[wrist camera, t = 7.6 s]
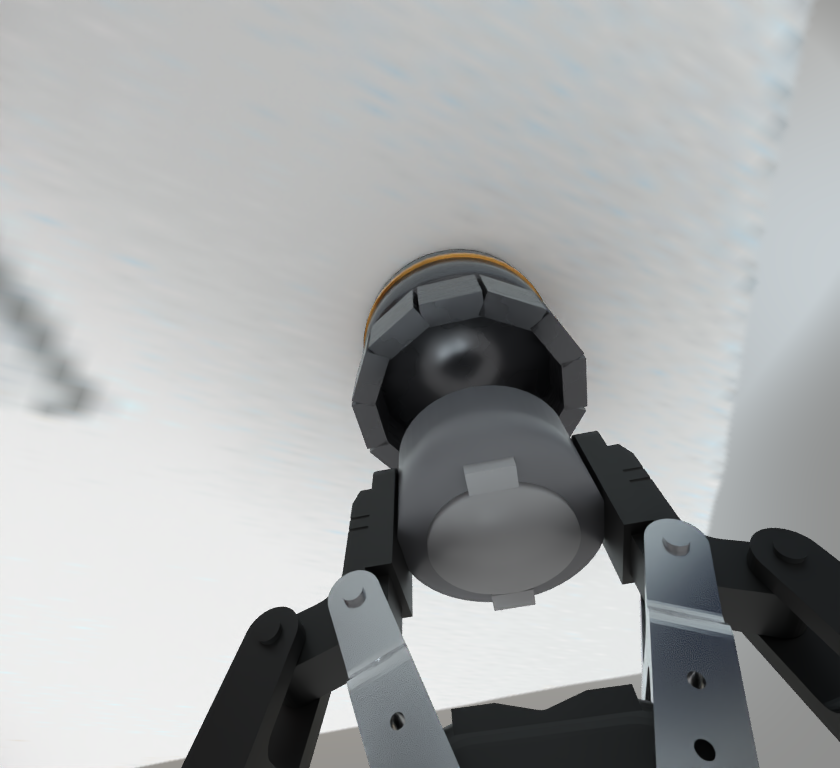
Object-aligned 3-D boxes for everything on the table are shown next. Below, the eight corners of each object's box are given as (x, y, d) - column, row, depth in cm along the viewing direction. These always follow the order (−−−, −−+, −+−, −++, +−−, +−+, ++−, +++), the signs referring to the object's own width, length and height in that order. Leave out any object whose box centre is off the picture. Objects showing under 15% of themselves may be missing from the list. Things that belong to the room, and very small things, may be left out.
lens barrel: (342, 271, 21) (319, 323, 15) (535, 227, 20) (586, 264, 14) (390, 424, 25) (386, 508, 20) (548, 393, 25) (591, 471, 19)
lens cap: (379, 405, 13) (371, 488, 10) (562, 368, 13) (612, 443, 10) (418, 529, 16) (422, 624, 13) (570, 502, 16) (611, 594, 13)
